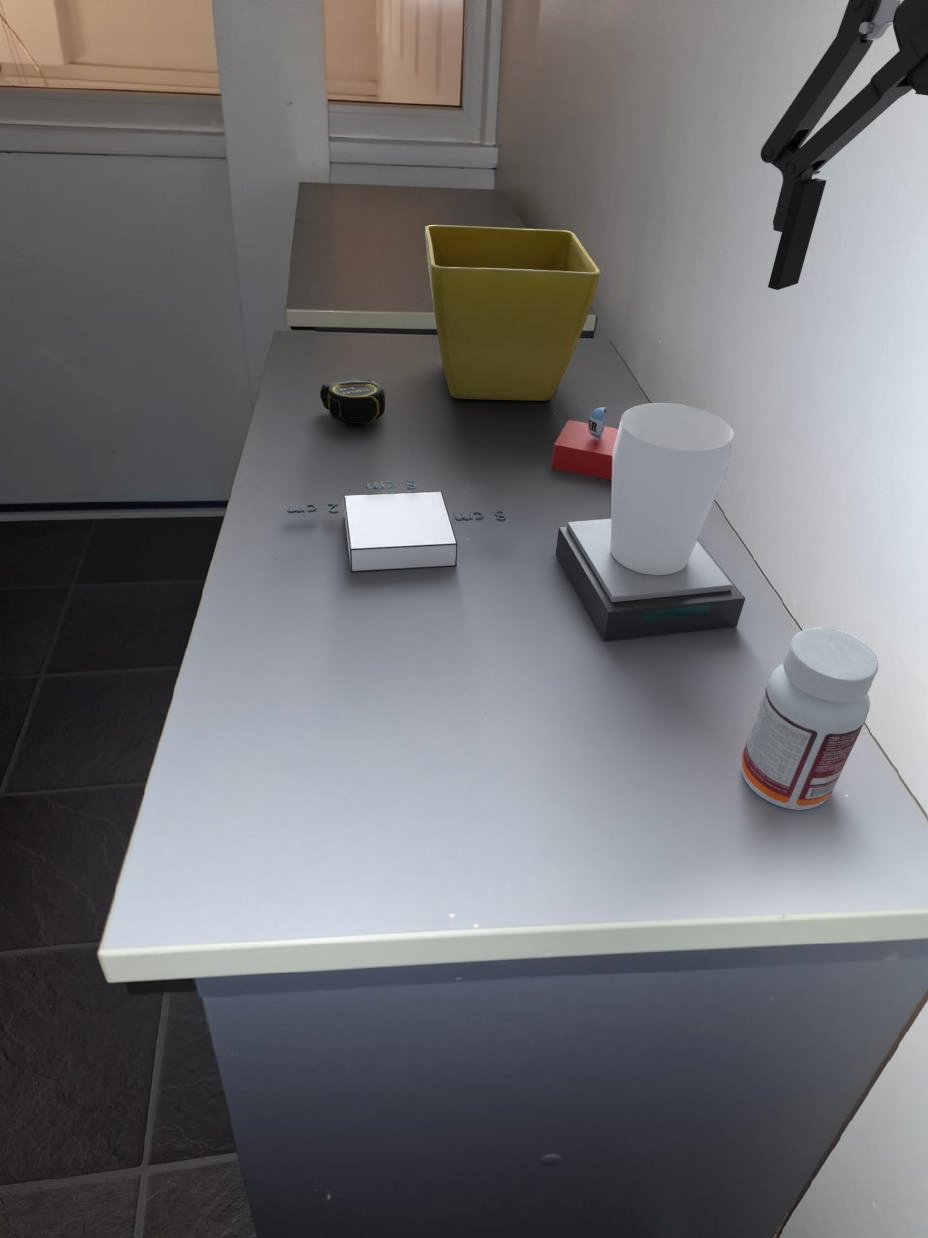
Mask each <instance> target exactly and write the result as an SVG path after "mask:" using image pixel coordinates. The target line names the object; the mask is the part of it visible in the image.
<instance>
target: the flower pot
mask: <svg viewBox="0 0 928 1238" xmlns="http://www.w3.org/2000/svg"><path fill="white" fill-rule="evenodd" d="M424 235H425V247H426V260H427V268H428V277H429V284H430V291H431V298H432V299H431V300H432V304H433V305H432V306H433V311H434V318H435V325H436V326H435V327H436V334H437V341H438V345H439V352H440V357H441V361H442V362H441V363H442V368H443V371H444V376H445V380H446V384H447V387H448V391H449V395H450V396H451V397H452V398H454V399H459V400H491V401H492V400H494V401H495V400H496V401H497V400H500V401H527V402H528V401H534V402H546V401H549V400H552V397H553V395H554V394H555V392H556V391H557V388H558V387H559V384H560V382H561V380H562V379H563V376H564V374H565V372H566V370H567V368H568V366H569V364H570V361H571V360H572V357H573V354H574V353H575V349H576V347H577V345H578V343H579V340H580V338H581V335H582V333H583V329H584V327H585V324H586V322H587V318H588V315H589V312H590V309H591V306H592V304H593V301H594V297H595V294H596V291H597V287H598V283H599V279H600V275H601V269H600V268H599V267H598V266H597V265H596V263H595V261H594V260H593V259H592V257H591V255H589V253H588V252H587V250H586V249H585V247H584V245H583V244H582V243H581V242H580V240H579V239H578V237H577V235H576V234H575V233H574V232H573V231H570V230H563V229H540V228H539V229H538V228H518V227H517V228H516V227H515V228H514V227H497V226H494V227H493V226H473V225H449V224H448V225H447V224H445V225H444V224H429V225H426V226H424Z"/></svg>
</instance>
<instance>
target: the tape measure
mask: <svg viewBox="0 0 928 1238" xmlns="http://www.w3.org/2000/svg"><path fill="white" fill-rule="evenodd" d="M319 393H320V395H319V397H320V400H321V402H322V405H323V407H324V408H325V409H326V410H328V411H329V414H330V416H331V417H332V418H333V419H335V420H336V421H340V422H342V423H350V424H361V423H362V424H364V423H369V422H372V421H375V420H378V419H379V418H381V417H383V415H384V413H385V410H386V393H385V389H384V387H383V386H382V385H381V384H379V383H376V382H375V381H374V380H370V379H353V380H344V381H338V382H329V383H325V384H322V385H321V389H320V390H319Z"/></svg>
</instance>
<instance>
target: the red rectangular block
mask: <svg viewBox="0 0 928 1238" xmlns="http://www.w3.org/2000/svg"><path fill="white" fill-rule="evenodd" d="M607 411H608V410H607V407H605V406H604V407H603V406H602V407H597V408H594V409H593V410H592V412H591V413H590V415H589V418H588V422H583V421H578V420H572V419H568V420H567V422H566V423H565V424H564V427H563V428H562V430H561V431H560V434H559V435H558V437H557V438H556V441H555V442H554V445H553V452H552V459H551V469H553V470H554V469H555V470H559V471H564V472H569V473H575V474H579V475H585V476H590V477H595V478H598V479H599V478H601V479H605V480H610V481H612V456H613V449H614V446H615V442H616V438H617V434H618V430H619V428H615V427H609V426H606V421H607Z"/></svg>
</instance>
